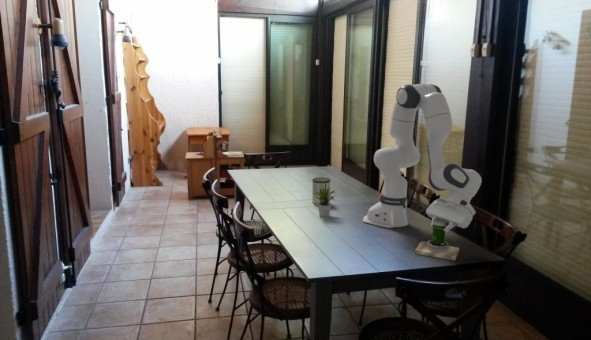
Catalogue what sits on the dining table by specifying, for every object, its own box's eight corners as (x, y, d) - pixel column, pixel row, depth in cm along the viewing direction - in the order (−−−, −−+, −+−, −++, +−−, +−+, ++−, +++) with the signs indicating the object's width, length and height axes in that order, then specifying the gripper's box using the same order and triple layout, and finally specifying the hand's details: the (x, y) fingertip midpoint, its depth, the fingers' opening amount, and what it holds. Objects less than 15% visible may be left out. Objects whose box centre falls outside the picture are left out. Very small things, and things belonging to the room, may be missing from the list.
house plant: (336, 221, 238) (337, 189, 235) (309, 219, 241) (310, 188, 237) (339, 213, 252) (340, 183, 248) (314, 211, 254) (314, 182, 251)
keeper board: (415, 253, 196) (415, 244, 196) (421, 244, 207) (421, 235, 206) (454, 260, 189) (455, 251, 188) (459, 250, 200) (459, 242, 199)
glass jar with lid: (312, 200, 276) (313, 177, 273) (330, 201, 275) (330, 177, 272) (311, 205, 266) (311, 181, 263) (329, 205, 265) (330, 181, 262)
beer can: (447, 249, 197) (449, 222, 195) (439, 252, 194) (442, 224, 191) (435, 245, 201) (437, 218, 199) (428, 248, 198) (430, 221, 195)
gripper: (433, 193, 206) (416, 218, 202) (472, 204, 189) (454, 231, 186) (439, 202, 209) (422, 226, 206) (479, 213, 192) (461, 240, 189)
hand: (438, 229), depth 195 cm, fingers closed on beer can, 5 cm apart
